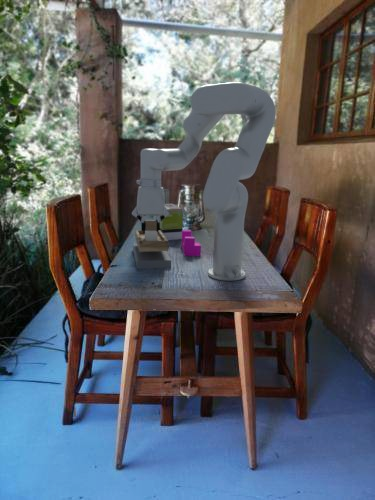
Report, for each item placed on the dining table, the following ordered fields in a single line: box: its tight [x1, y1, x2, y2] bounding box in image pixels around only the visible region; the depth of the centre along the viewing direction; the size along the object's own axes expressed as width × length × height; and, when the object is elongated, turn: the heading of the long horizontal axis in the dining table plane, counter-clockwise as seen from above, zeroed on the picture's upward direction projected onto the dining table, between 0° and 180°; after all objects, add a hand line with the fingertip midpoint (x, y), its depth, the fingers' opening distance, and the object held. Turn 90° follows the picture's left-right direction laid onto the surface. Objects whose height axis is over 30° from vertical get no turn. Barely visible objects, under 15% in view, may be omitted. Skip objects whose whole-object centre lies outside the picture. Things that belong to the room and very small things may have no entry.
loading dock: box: [132, 242, 172, 270], centre depth 153 cm, size 26×12×3 cm, turn 11°
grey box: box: [145, 231, 158, 241], centre depth 145 cm, size 4×4×4 cm
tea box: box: [153, 203, 184, 241], centre depth 189 cm, size 15×10×15 cm, turn 21°
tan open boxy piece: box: [134, 219, 169, 252], centre depth 151 cm, size 24×10×9 cm, turn 11°
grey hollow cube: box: [163, 188, 170, 204], centre depth 251 cm, size 14×16×15 cm
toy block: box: [181, 229, 202, 257], centre depth 165 cm, size 15×6×8 cm, turn 6°
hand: (150, 232), depth 151 cm, fingers closed on tan open boxy piece, 4 cm apart
